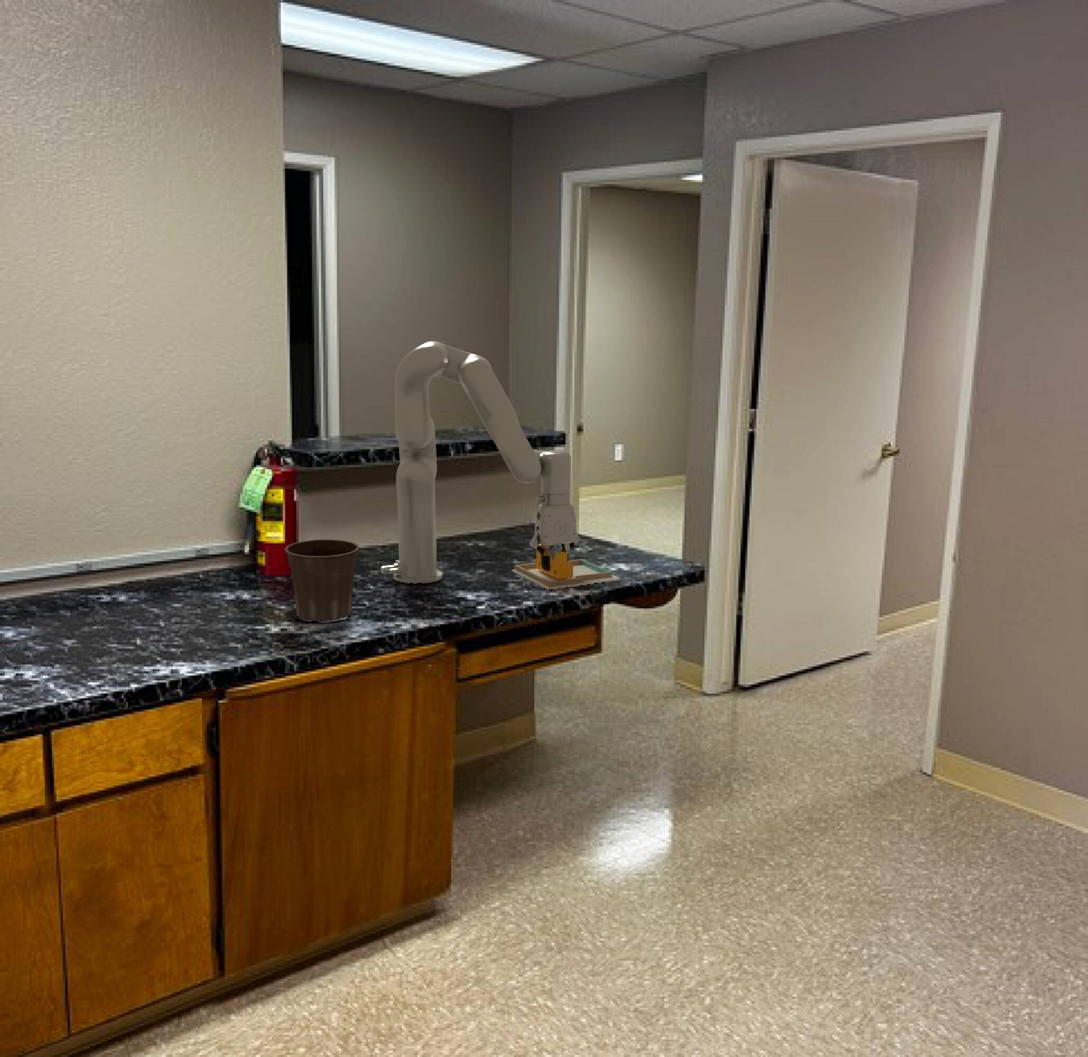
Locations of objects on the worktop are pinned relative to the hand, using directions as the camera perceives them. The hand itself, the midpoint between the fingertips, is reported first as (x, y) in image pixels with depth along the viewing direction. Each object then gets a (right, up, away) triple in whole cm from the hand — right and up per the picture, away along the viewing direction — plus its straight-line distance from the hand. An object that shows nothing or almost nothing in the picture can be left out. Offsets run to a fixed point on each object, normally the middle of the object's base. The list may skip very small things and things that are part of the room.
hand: (554, 568), depth 278 cm
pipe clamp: (0, -1, 0) cm, 1 cm away
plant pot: (-52, -10, -34) cm, 63 cm away
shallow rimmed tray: (+3, -2, +2) cm, 4 cm away
